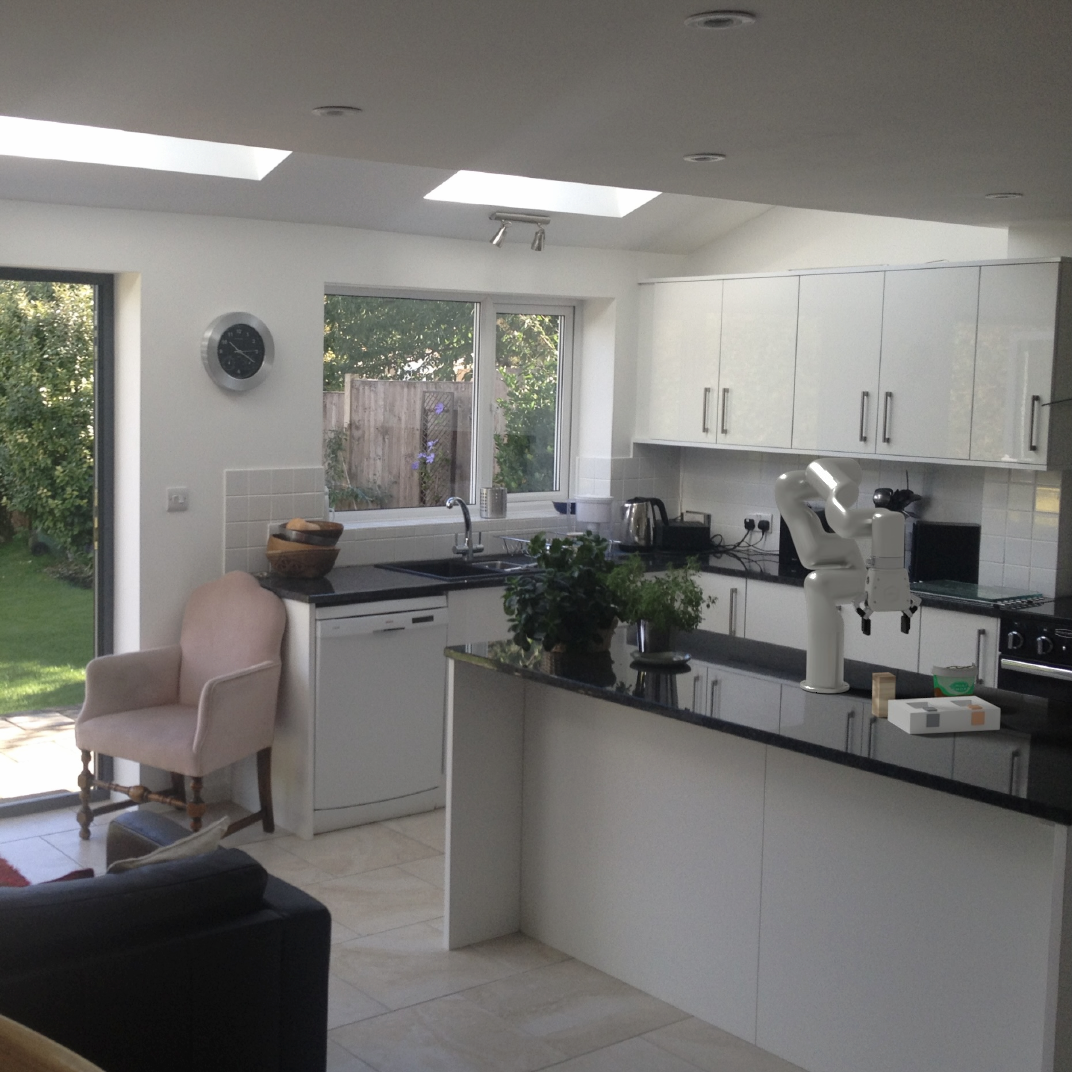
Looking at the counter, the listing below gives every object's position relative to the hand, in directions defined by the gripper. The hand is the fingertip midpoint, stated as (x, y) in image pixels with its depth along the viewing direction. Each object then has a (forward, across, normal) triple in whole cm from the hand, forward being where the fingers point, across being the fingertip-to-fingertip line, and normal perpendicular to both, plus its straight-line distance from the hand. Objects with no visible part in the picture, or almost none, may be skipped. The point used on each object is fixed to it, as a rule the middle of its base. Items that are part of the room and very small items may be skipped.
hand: (885, 633), depth 306 cm
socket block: (+20, +10, -11) cm, 25 cm away
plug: (+20, 0, 0) cm, 20 cm away
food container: (+20, +22, +5) cm, 30 cm away
